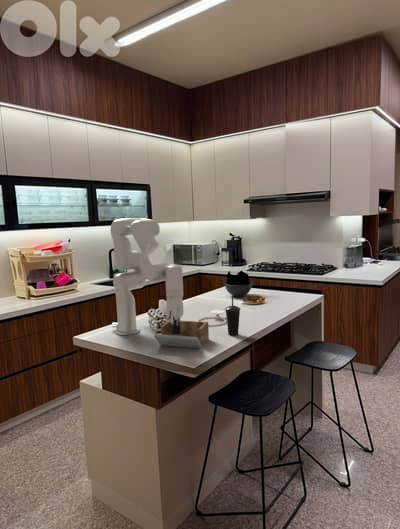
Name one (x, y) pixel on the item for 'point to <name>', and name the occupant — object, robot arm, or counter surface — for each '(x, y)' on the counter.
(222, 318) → the hand towel holder
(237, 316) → the drinking cup
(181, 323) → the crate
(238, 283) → the coal bowl
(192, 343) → the panel
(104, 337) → the counter surface
